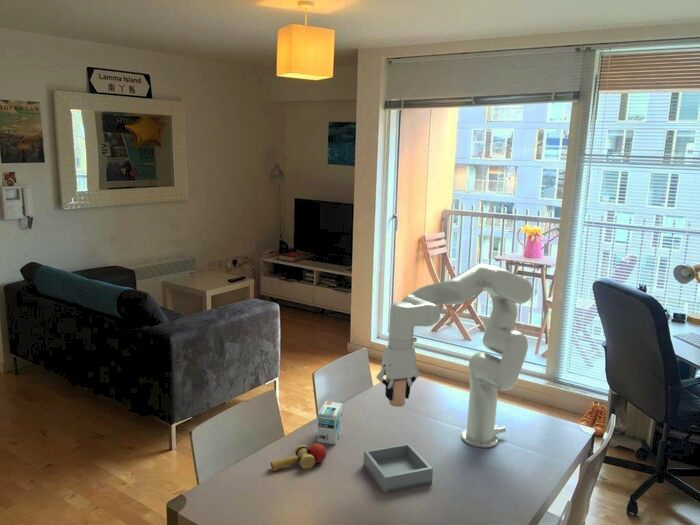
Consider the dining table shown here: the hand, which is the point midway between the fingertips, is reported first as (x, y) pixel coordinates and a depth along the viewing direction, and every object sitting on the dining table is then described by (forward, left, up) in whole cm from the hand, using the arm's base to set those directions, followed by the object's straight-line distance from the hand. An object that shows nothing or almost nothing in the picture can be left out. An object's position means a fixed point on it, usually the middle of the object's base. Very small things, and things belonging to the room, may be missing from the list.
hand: (397, 397), depth 178 cm
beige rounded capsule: (0, 0, -2) cm, 2 cm away
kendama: (+29, -10, -24) cm, 39 cm away
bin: (+1, +4, -24) cm, 24 cm away
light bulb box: (+13, -25, -24) cm, 37 cm away
